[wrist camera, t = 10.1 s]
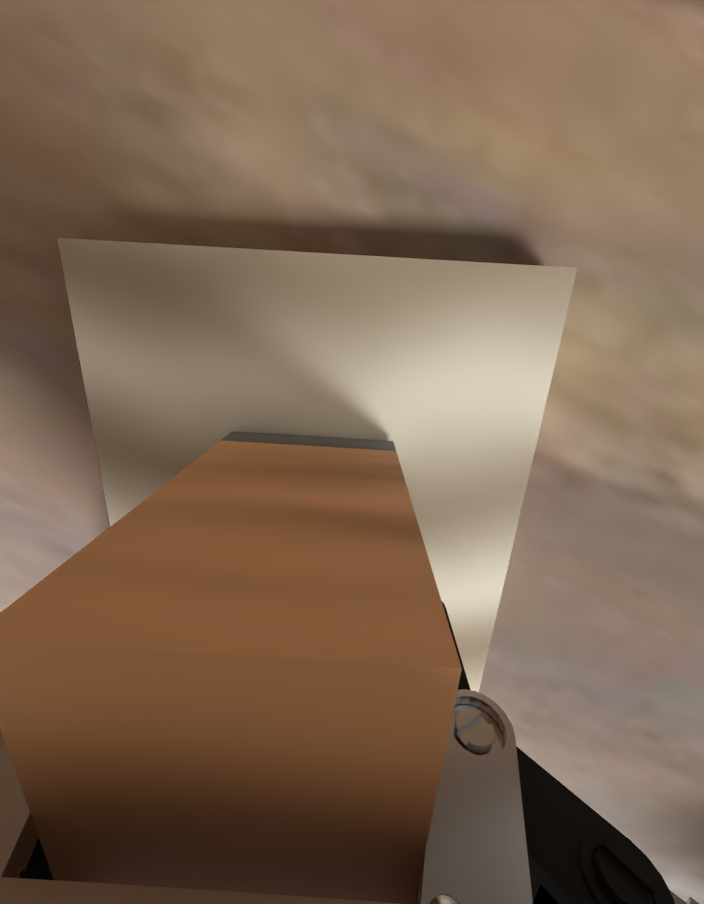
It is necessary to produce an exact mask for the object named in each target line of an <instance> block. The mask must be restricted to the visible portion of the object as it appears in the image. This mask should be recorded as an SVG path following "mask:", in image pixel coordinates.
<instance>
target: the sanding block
mask: <svg viewBox="0 0 704 904" xmlns="http://www.w3.org/2000/svg"><path fill="white" fill-rule="evenodd" d="M461 670H462V667H461V664H460V661H459V658H458V654H457V651H456V648H455V644H454V641H453V638H452V634H451V631H450V628H449V624H448V621H447V618H446V614H445V611H444V608H443V604H442V601H441V598H440V594H439V591H438V588H437V585H436V581H435V578H434V575H433V571H432V568H431V565H430V561H429V558H428V555H427V551H426V548H425V545H424V541H423V538H422V535H421V531H420V528H419V525H418V521H417V518H416V515H415V512H414V508H413V505H412V502H411V498H410V495H409V492H408V488H407V485H406V482H405V478H404V475H403V472H402V468H401V465H400V462H399V458H398V455H397V452H396V448H395V445H394V442H393V441H386V440H369V439H352V438H336V437H319V436H303V435H286V434H270V433H253V432H236V431H232V432H231V433H229V434H228V435H227V436H225V437H224V438H223V439H222V440H220V441H219V442H218V443H217V444H215V445H214V446H213V447H211V448H210V449H209V450H208V451H206V452H205V453H204V454H203V455H201V456H200V457H199V458H197V459H196V460H195V461H194V462H192V463H191V464H190V465H188V466H187V467H186V468H185V469H183V470H182V471H181V472H180V473H178V474H177V475H176V476H174V477H173V478H172V479H171V480H169V481H168V482H167V483H165V484H164V485H163V486H162V487H160V488H159V489H158V490H157V491H155V492H154V493H153V494H151V495H150V496H149V497H148V498H146V499H145V500H144V501H143V502H141V503H140V504H139V505H137V506H136V507H135V508H134V509H132V510H131V511H130V512H128V513H127V514H126V515H125V516H123V517H122V518H121V519H120V520H118V521H117V522H116V523H114V524H113V525H112V526H111V527H109V528H108V529H107V530H106V531H104V532H103V533H102V534H100V535H99V536H98V537H97V538H95V539H94V540H93V541H91V542H90V543H89V544H88V545H86V546H85V547H84V548H83V549H81V550H80V551H79V552H77V553H76V554H75V555H74V556H72V557H71V558H70V559H68V560H67V561H66V562H65V563H63V564H62V565H61V566H60V567H58V568H57V569H56V570H54V571H53V572H52V573H51V574H49V575H48V576H47V577H46V578H44V579H43V580H42V581H40V582H39V583H38V584H37V585H35V586H34V587H33V588H31V589H30V590H29V591H28V592H26V593H25V594H24V595H23V596H21V597H20V598H19V599H17V600H16V601H15V602H14V603H12V604H11V605H10V606H9V607H7V608H6V609H5V610H3V611H2V612H1V613H0V729H1V732H2V735H3V738H4V741H5V743H6V746H7V749H8V752H9V755H10V758H11V760H12V763H13V766H14V769H15V772H16V775H17V777H18V780H19V783H20V786H21V789H22V791H23V794H24V797H25V800H26V803H27V806H28V808H29V811H30V813H31V816H32V818H33V821H34V824H35V827H36V830H37V832H38V835H39V840H40V842H41V845H42V848H43V851H44V854H45V857H46V859H47V862H48V865H49V868H50V871H51V874H52V876H53V879H54V880H58V881H75V882H92V883H108V884H123V885H139V886H154V887H170V888H185V889H200V890H215V891H230V892H245V893H260V894H275V895H289V896H303V897H317V898H331V899H345V900H358V901H372V902H386V903H400V904H415V899H416V894H417V889H418V884H419V879H420V874H421V864H422V857H423V852H424V847H425V842H426V838H427V837H428V835H429V830H430V825H431V820H432V815H433V810H434V805H435V800H436V795H437V790H438V785H439V780H440V775H441V770H442V765H443V760H444V755H445V750H446V745H447V740H448V735H449V730H450V725H451V720H452V715H453V710H454V705H455V700H456V695H457V690H458V685H459V680H460V675H461Z"/></svg>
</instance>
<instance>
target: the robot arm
mask: <svg viewBox="0 0 704 904" xmlns="http://www.w3.org/2000/svg"><path fill="white" fill-rule="evenodd" d="M442 604H443V608H444V611H445V614H446V618H447V621H448V624H449V628H450V631H451V634H452V638H453V641H454V644H455V648H456V651H457V654H458V658H459V661H460V664H461V667H462V670H461V675H460V680H459V685H458V690H457V695H456V700H455V705H454V710H453V715H452V720H451V725H450V730H449V735H448V740H447V745H446V750H445V755H444V760H443V765H442V770H441V775H440V780H439V785H438V790H437V795H436V800H435V805H434V810H433V815H432V820H431V825H430V830H429V835H428V837H427V838H426V842H425V847H424V852H423V857H422V864H421V874H420V879H419V884H418V889H417V894H416V899H415V904H699V903H698V902H696V901H695V900H694V899H692V898H691V897H689V899H688V900H687V902H685V901H683V900H682V899H681V898H679V897H678V896H677V895H675V894H674V893H673V892H671V891H670V890H669V889H668V887H667V885H666V883H665V881H664V880H663V878H662V876H661V875H660V873H659V872H658V871H657V869H656V868H655V867H654V865H653V864H652V863H651V861H650V860H649V859H648V857H647V856H646V855H645V854H644V853H643V852H642V851H641V850H640V849H639V848H638V847H636V846H635V845H634V844H633V843H632V842H631V841H630V840H629V839H628V838H627V837H625V836H624V835H623V834H622V833H621V832H619V831H618V830H617V829H616V828H615V827H613V826H612V825H611V824H610V823H608V822H607V821H606V820H605V819H604V818H602V817H601V816H600V815H599V814H598V813H596V812H595V811H594V810H593V809H591V808H590V807H589V806H588V805H587V804H585V803H584V802H583V801H582V800H581V799H579V798H578V797H577V796H576V795H575V794H573V793H572V792H571V791H570V790H568V789H567V788H566V787H565V786H564V785H562V784H561V783H560V782H559V781H558V780H556V779H555V778H554V777H553V776H551V775H550V774H549V773H548V772H547V771H545V770H544V769H543V768H542V767H541V766H539V765H538V764H537V763H536V762H535V761H533V760H532V759H531V758H530V757H528V756H527V755H526V754H525V753H524V752H522V751H521V750H520V749H519V748H518V747H516V740H515V735H514V731H513V727H512V724H511V722H510V721H509V719H508V717H507V715H506V714H505V712H504V711H503V710H502V709H501V708H500V707H499V706H498V705H497V703H495V702H494V701H492V700H491V699H490V698H488V697H487V696H485V695H483V694H481V693H479V692H476V691H472V690H470V686H469V683H468V680H467V676H466V673H465V670H464V666H463V663H462V660H461V656H460V653H459V650H458V646H457V643H456V640H455V636H454V633H453V630H452V626H451V623H450V620H449V616H448V613H447V610H446V607H445V604H444V603H443V602H442ZM0 904H400V903H386V902H372V901H358V900H345V899H331V898H317V897H303V896H289V895H275V894H260V893H245V892H230V891H215V890H200V889H185V888H170V887H154V886H139V885H123V884H108V883H92V882H75V881H58V880H54V879H53V876H52V874H51V871H50V868H49V865H48V862H47V859H46V857H45V854H44V851H43V848H42V845H41V842H40V840H39V835H38V832H37V830H36V827H35V824H34V821H33V818H32V816H31V813H30V811H29V808H28V806H27V803H26V800H25V797H24V794H23V791H22V789H21V786H20V783H19V780H18V777H17V775H16V772H15V769H14V766H13V763H12V760H11V758H10V755H9V752H8V749H7V746H6V743H5V741H4V738H3V735H2V732H1V729H0Z"/></svg>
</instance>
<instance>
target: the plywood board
mask: <svg viewBox="0 0 704 904" xmlns="http://www.w3.org/2000/svg"><path fill="white" fill-rule="evenodd" d="M57 241H58V246H59V252H60V257H61V263H62V268H63V273H64V279H65V284H66V290H67V295H68V300H69V306H70V311H71V317H72V322H73V327H74V333H75V338H76V344H77V349H78V354H79V360H80V365H81V371H82V376H83V381H84V387H85V392H86V397H87V403H88V408H89V414H90V419H91V424H92V430H93V435H94V441H95V446H96V451H97V457H98V462H99V468H100V473H101V478H102V484H103V489H104V495H105V500H106V505H107V511H108V516H109V522H110V527H111V526H112V525H113V524H114V523H116V522H117V521H118V520H120V519H121V518H122V517H123V516H125V515H126V514H127V513H128V512H130V511H131V510H132V509H134V508H135V507H136V506H137V505H139V504H140V503H141V502H143V501H144V500H145V499H146V498H148V497H149V496H150V495H151V494H153V493H154V492H155V491H157V490H158V489H159V488H160V487H162V486H163V485H164V484H165V483H167V482H168V481H169V480H171V479H172V478H173V477H174V476H176V475H177V474H178V473H180V472H181V471H182V470H183V469H185V468H186V467H187V466H188V465H190V464H191V463H192V462H194V461H195V460H196V459H197V458H199V457H200V456H201V455H203V454H204V453H205V452H206V451H208V450H209V449H210V448H211V447H213V446H214V445H215V444H217V443H218V442H219V441H220V440H222V439H223V438H224V437H225V436H227V435H228V434H229V433H231V432H232V431H236V432H253V433H270V434H286V435H303V436H319V437H336V438H352V439H369V440H386V441H393V442H394V445H395V448H396V452H397V455H398V458H399V462H400V465H401V468H402V472H403V475H404V478H405V482H406V485H407V488H408V492H409V495H410V498H411V502H412V505H413V508H414V512H415V515H416V518H417V521H418V525H419V528H420V531H421V535H422V538H423V541H424V545H425V548H426V551H427V555H428V558H429V561H430V565H431V568H432V571H433V575H434V578H435V581H436V585H437V588H438V591H439V594H440V598H441V601H442V602H443V603H444V604H445V607H446V610H447V613H448V616H449V620H450V623H451V626H452V630H453V633H454V636H455V640H456V643H457V646H458V650H459V653H460V656H461V660H462V663H463V666H464V670H465V673H466V676H467V680H468V683H469V686H470V690H472V691H476V692H479V688H480V683H481V679H482V675H483V671H484V666H485V662H486V658H487V653H488V649H489V645H490V641H491V636H492V632H493V628H494V623H495V619H496V615H497V611H498V606H499V602H500V598H501V593H502V589H503V585H504V581H505V576H506V572H507V568H508V563H509V559H510V555H511V551H512V546H513V542H514V538H515V533H516V529H517V525H518V521H519V516H520V512H521V508H522V503H523V499H524V495H525V491H526V486H527V482H528V478H529V473H530V469H531V465H532V461H533V456H534V452H535V448H536V443H537V439H538V435H539V431H540V426H541V422H542V418H543V413H544V409H545V405H546V401H547V396H548V392H549V388H550V383H551V379H552V375H553V371H554V366H555V362H556V358H557V353H558V349H559V345H560V341H561V336H562V332H563V328H564V323H565V319H566V315H567V311H568V306H569V302H570V298H571V293H572V289H573V285H574V281H575V276H576V272H577V268H571V267H554V266H537V265H520V264H502V263H485V262H468V261H451V260H434V259H416V258H399V257H382V256H365V255H348V254H330V253H313V252H296V251H279V250H261V249H244V248H227V247H210V246H193V245H175V244H158V243H141V242H124V241H107V240H89V239H72V238H57Z"/></svg>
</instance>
